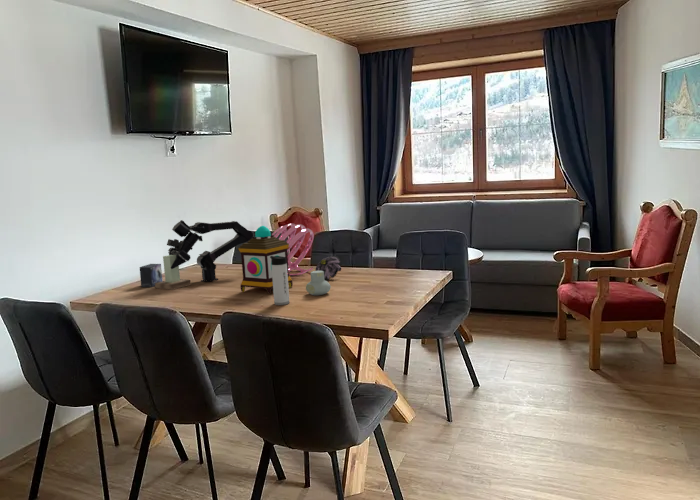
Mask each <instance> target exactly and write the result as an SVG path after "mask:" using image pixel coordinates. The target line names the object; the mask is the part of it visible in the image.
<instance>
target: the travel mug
mask: <svg viewBox="0 0 700 500" xmlns="http://www.w3.org/2000/svg"><path fill="white" fill-rule="evenodd" d="M270 258H271V262H272V263H271V265H272V279H273V288H272V292H273V303H274V305H275V306H286V305H288V304H290V292H289V291H290V290H289V283H288V274H287V262H286V257H282V256H270Z"/></svg>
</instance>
